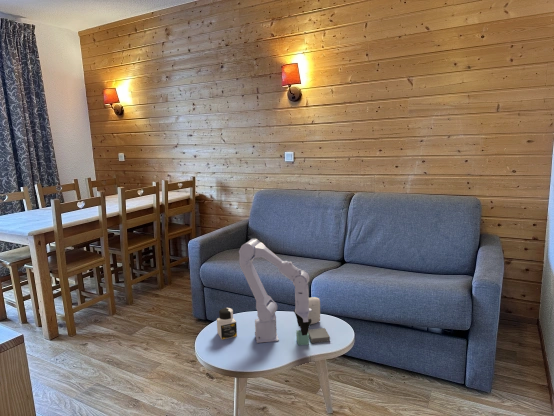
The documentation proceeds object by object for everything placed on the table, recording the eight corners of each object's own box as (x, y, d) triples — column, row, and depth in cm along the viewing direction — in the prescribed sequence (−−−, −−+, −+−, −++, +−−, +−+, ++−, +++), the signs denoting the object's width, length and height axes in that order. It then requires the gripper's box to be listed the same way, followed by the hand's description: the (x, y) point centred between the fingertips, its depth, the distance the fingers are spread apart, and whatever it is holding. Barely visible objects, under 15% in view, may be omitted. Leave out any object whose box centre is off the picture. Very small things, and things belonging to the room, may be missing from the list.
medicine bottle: (221, 340, 166) (220, 314, 164) (217, 333, 172) (215, 308, 170) (237, 336, 168) (236, 311, 166) (232, 329, 175) (231, 305, 173)
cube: (298, 345, 160) (298, 335, 159) (296, 340, 164) (296, 330, 163) (309, 344, 160) (308, 334, 159) (306, 339, 165) (306, 329, 164)
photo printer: (316, 318, 183) (316, 294, 181) (321, 322, 180) (321, 297, 178) (298, 323, 179) (298, 299, 176) (303, 327, 175) (303, 302, 173)
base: (311, 343, 161) (311, 338, 161) (307, 333, 169) (307, 329, 169) (329, 341, 162) (329, 336, 162) (324, 332, 170) (324, 328, 170)
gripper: (315, 306, 152) (315, 337, 155) (307, 292, 166) (308, 321, 169) (298, 308, 151) (298, 339, 154) (291, 294, 166) (292, 323, 168)
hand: (302, 330), depth 161 cm, fingers open, 7 cm apart
